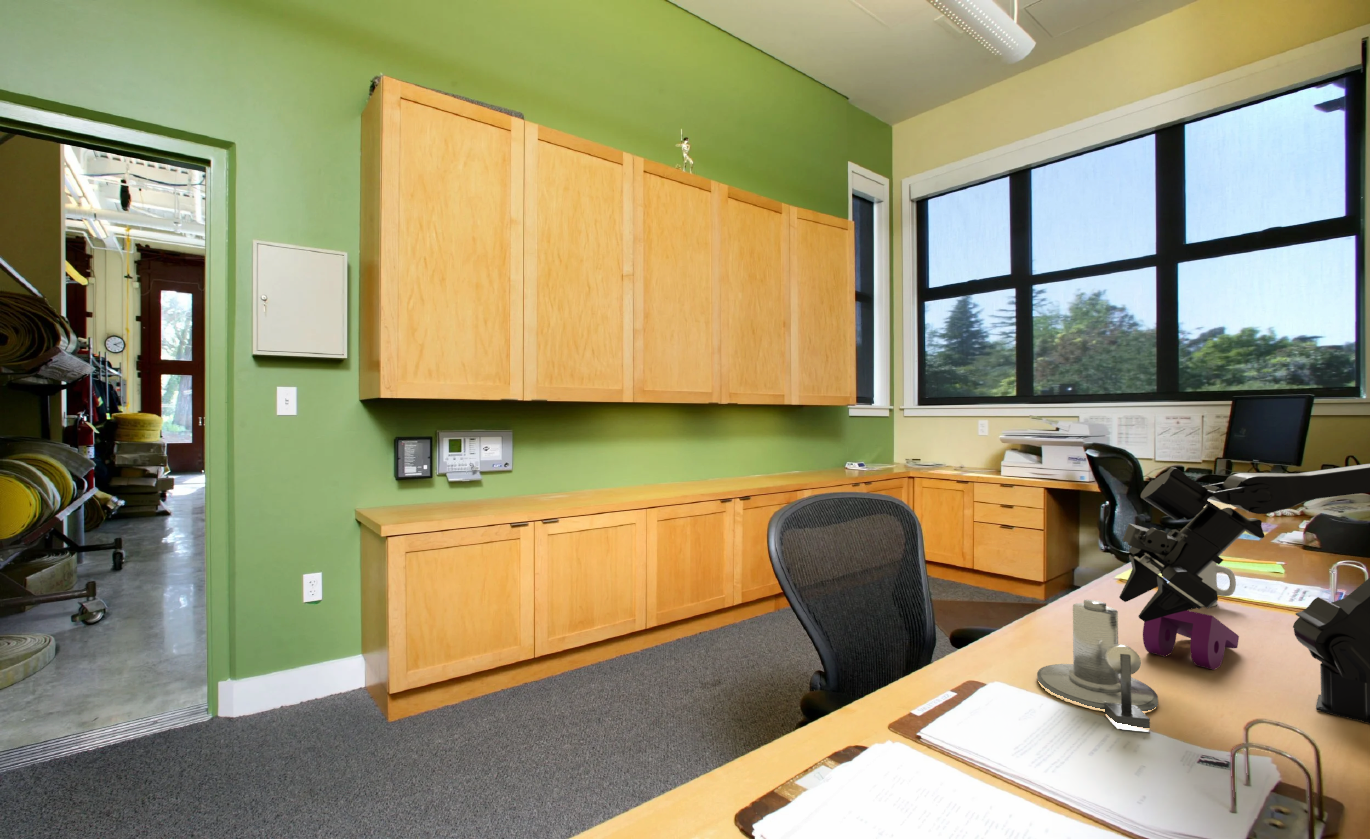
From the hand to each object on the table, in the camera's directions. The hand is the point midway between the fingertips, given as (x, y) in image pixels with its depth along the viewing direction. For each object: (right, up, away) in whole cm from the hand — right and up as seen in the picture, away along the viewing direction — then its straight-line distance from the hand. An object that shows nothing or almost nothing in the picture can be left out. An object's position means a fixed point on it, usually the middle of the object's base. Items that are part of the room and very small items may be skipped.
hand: (1131, 609), depth 98 cm
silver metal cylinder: (-8, -11, -3) cm, 14 cm away
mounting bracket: (+21, -12, +12) cm, 27 cm away
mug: (+47, -12, +40) cm, 63 cm away
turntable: (-8, -12, -3) cm, 15 cm away
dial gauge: (-11, -12, -13) cm, 21 cm away
